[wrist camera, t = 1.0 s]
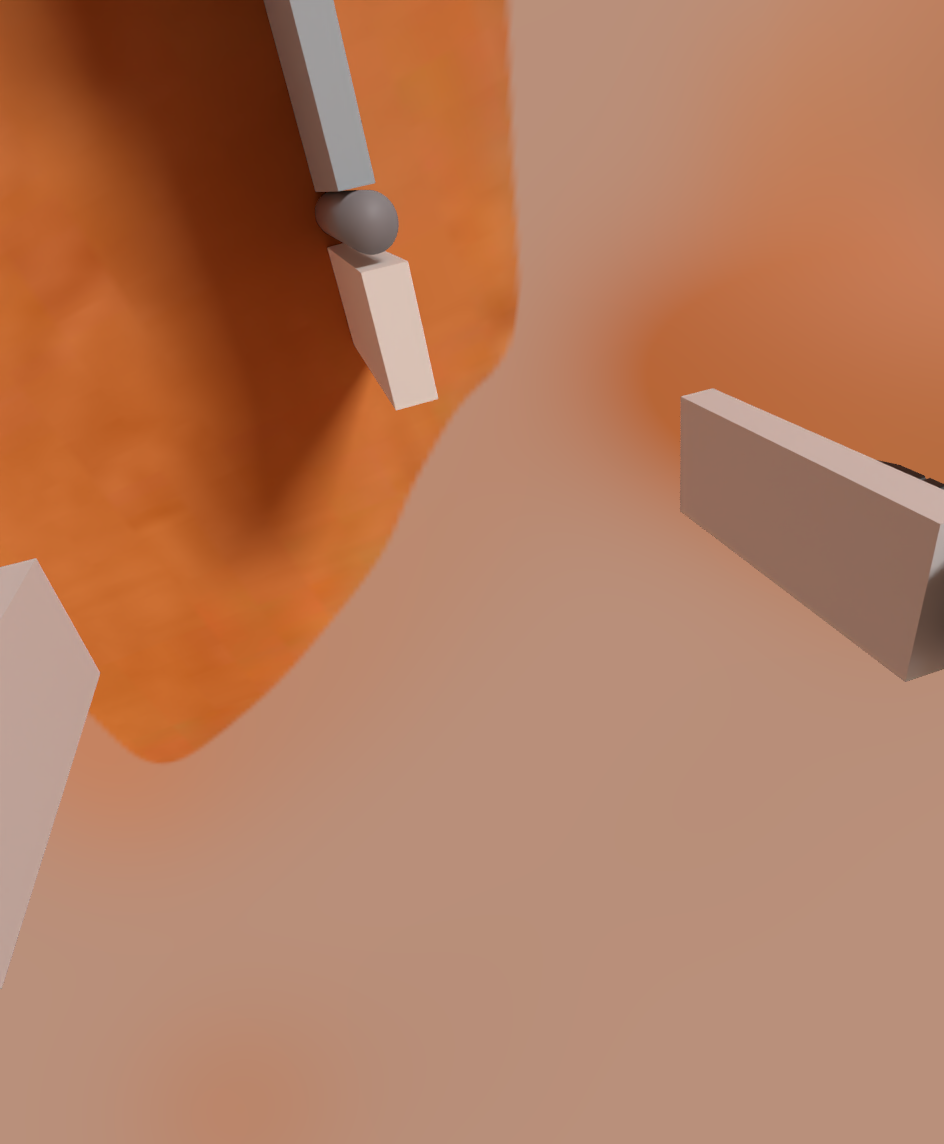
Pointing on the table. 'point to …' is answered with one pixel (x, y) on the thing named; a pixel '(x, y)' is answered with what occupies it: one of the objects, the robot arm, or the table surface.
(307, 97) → the door
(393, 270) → the wall frame
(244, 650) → the table surface
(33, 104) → the table surface
